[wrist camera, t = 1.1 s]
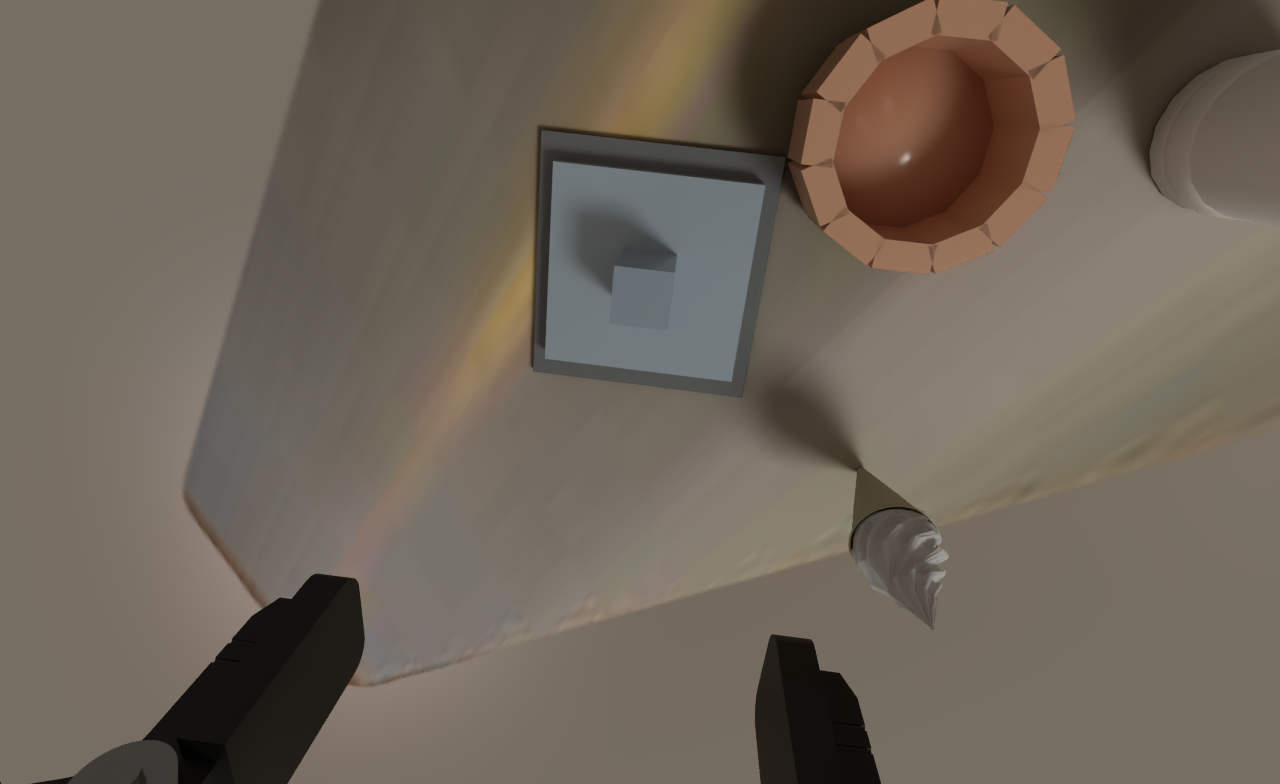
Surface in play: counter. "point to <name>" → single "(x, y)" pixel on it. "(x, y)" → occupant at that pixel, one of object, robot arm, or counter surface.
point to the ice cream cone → (896, 547)
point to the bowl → (932, 134)
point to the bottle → (1224, 141)
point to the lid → (649, 268)
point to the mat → (665, 161)
